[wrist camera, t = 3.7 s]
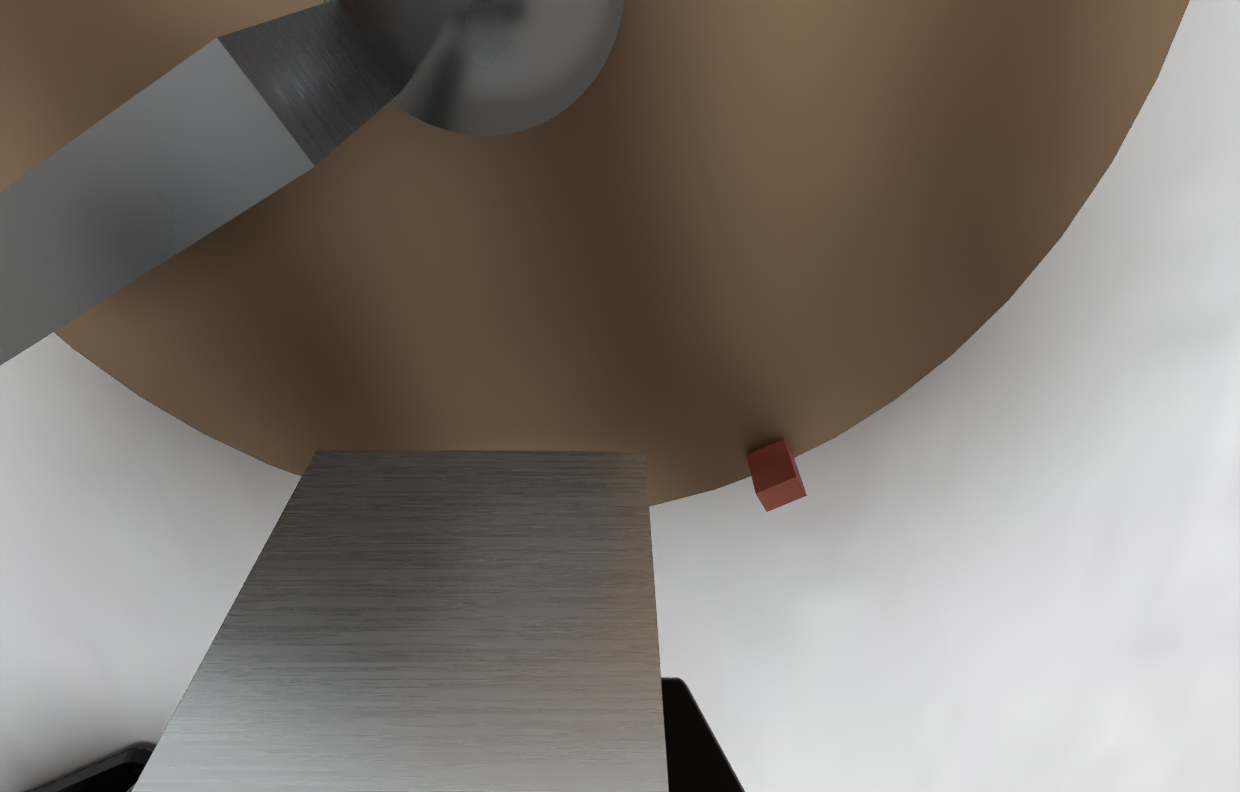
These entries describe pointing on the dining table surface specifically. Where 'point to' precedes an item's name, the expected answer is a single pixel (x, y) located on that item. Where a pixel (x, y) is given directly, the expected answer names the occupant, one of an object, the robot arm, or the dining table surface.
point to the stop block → (437, 634)
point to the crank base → (614, 230)
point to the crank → (273, 131)
